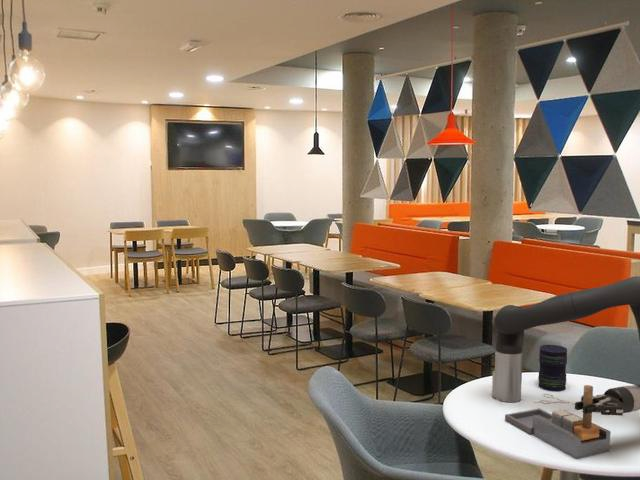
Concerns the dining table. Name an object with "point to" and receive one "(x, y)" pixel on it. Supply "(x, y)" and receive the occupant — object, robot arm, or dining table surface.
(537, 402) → the scissors
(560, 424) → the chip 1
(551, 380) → the storage jar
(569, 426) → the chip
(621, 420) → the dining table surface
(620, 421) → the dining table surface
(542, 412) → the tray
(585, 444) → the slot board
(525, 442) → the dining table surface
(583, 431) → the wooden post on base
